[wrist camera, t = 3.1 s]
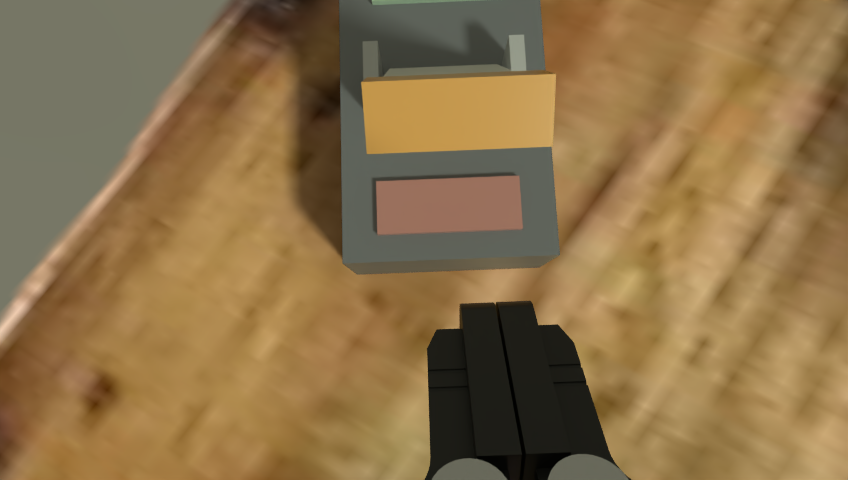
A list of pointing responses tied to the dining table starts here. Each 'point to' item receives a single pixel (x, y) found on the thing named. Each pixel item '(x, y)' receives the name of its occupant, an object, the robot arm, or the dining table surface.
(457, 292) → the dining table surface
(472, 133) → the lever
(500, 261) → the switch box
